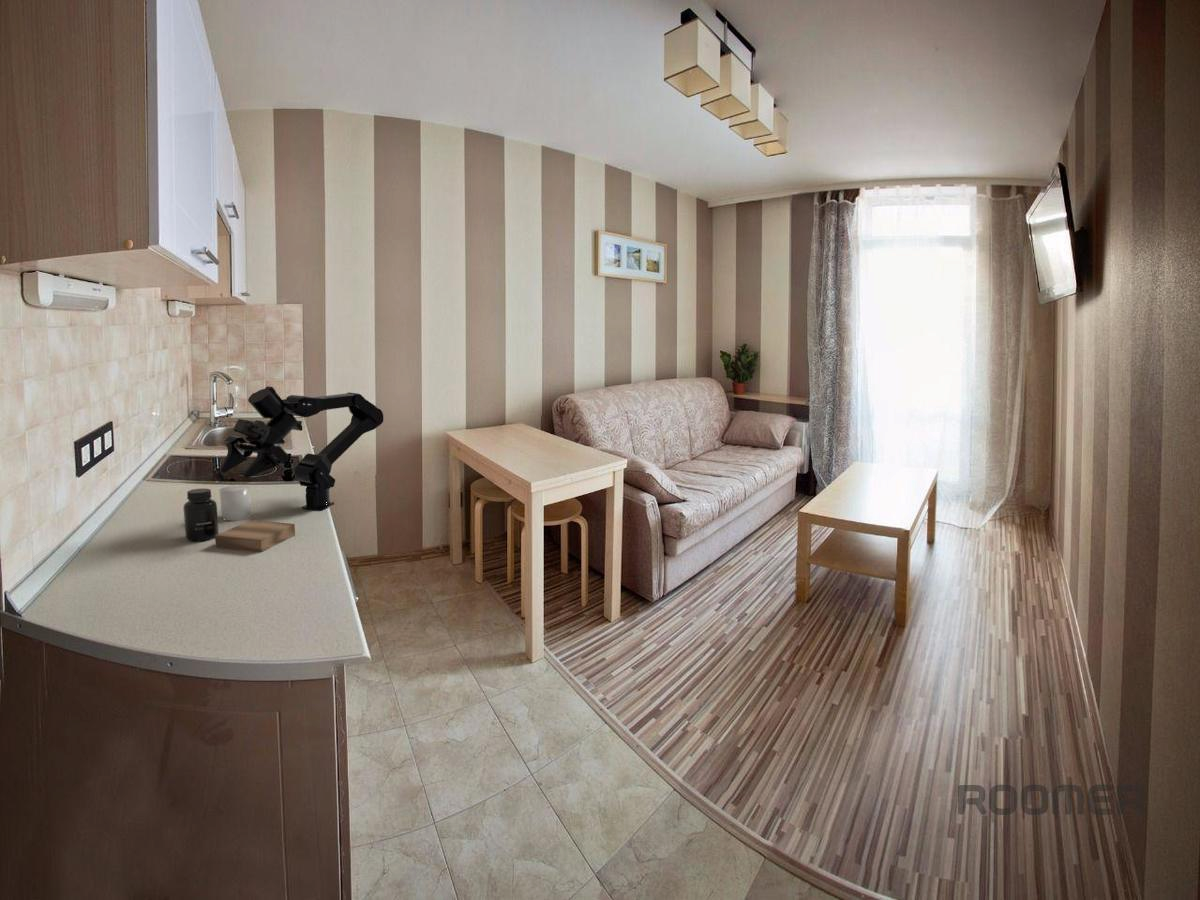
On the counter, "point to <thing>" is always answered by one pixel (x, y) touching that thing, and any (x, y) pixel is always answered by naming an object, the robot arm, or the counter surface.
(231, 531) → the walnut plinth
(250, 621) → the counter surface
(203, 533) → the supplement bottle
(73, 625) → the counter surface
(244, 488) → the white rounded block
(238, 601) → the counter surface
